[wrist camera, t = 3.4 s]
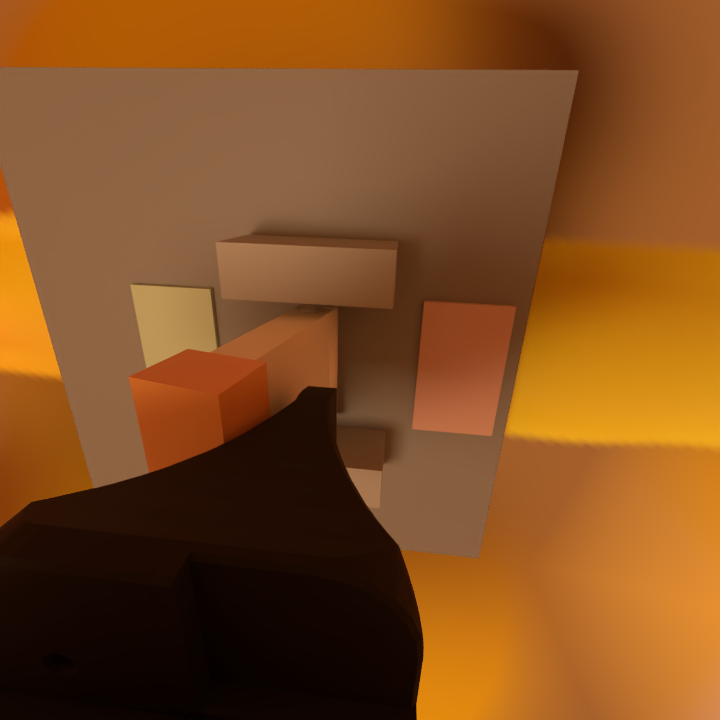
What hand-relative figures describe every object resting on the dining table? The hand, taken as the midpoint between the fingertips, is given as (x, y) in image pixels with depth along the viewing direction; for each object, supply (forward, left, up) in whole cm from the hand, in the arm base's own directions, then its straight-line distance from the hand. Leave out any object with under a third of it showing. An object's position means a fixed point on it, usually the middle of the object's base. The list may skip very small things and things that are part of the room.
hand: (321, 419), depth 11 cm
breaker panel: (+3, 0, -7) cm, 8 cm away
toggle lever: (+1, 0, -3) cm, 3 cm away
